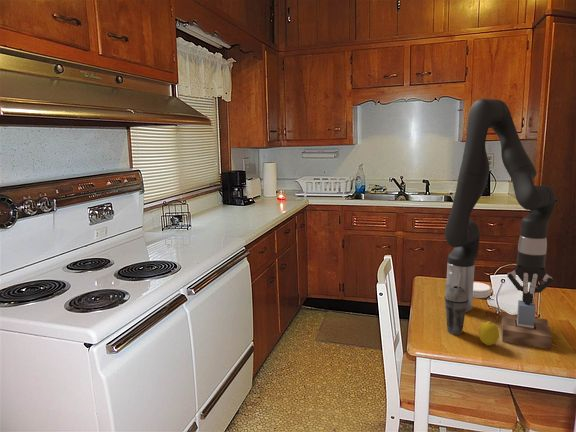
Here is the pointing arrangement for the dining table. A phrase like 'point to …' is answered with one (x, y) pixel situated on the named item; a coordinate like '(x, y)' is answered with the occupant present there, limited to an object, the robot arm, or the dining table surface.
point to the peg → (525, 315)
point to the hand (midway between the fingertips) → (527, 303)
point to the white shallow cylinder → (481, 290)
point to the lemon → (489, 333)
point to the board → (526, 332)
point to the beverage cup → (455, 308)
